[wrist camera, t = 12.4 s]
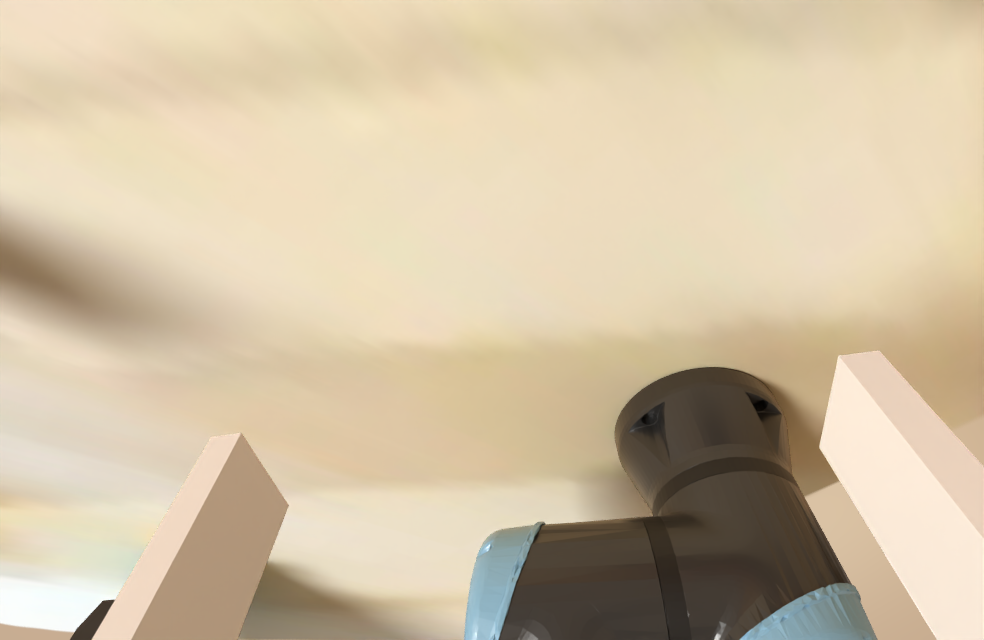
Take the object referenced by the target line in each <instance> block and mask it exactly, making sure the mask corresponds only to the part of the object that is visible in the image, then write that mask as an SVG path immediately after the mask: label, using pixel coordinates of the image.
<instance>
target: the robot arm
mask: <svg viewBox="0 0 984 640" xmlns="http://www.w3.org/2000/svg"><path fill="white" fill-rule="evenodd" d="M615 441H616V446H617V451H618V455H619V459H620V462H621V464H622V467H623V468H624V470H625V472H626V473H627V475H628V476H629V478H630V479H631V481H632V482H633V484H634V485H635V487H636V488H637V490H638V491H639V493H640V494H641V496H642V497H643V499H644V500H645V501H646V503H647V504H648V506H649V507H650V509H651V510H652V513H653V517H643V518H641V517H638V518H626V519H613V520H601V521H589V522H577V523H562V524H545V523H544V522H537V523H536V524H535V525H530V526H523V527H515V528H507V529H501V530H498V531H496V532H494V533H492V534H491V535H490V536H488V538H487V539H486V540H485V541H484V543H483V544H482V546H481V548H480V550H479V553H478V556H477V559H476V562H475V565H474V569H473V574H472V578H471V583H470V590H469V596H468V603H467V611H466V622H465V635H464V640H877V638H876V635H875V633H874V631H873V629H872V626H871V624H870V622H869V620H868V618H867V616H866V613H865V611H864V609H863V607H862V604H861V603H860V600H861V598H860V595H859V593H858V591H857V590H856V587H855V586H854V585H852V584H851V582H850V580H849V579H848V577H847V575H846V573H845V571H844V570H843V568H842V566H841V564H840V562H839V560H838V558H837V557H836V555H835V553H834V551H833V549H832V548H831V546H830V544H829V542H828V540H827V538H826V536H825V534H824V533H823V531H822V529H821V527H820V525H819V524H818V522H817V520H816V518H815V516H814V514H813V512H812V511H811V509H810V507H809V505H808V503H807V501H806V500H805V498H804V496H803V494H802V492H801V490H800V489H799V487H798V485H797V483H796V481H795V479H794V477H793V475H792V468H791V459H790V450H789V440H788V431H787V423H786V420H785V417H784V414H783V412H782V410H781V408H780V406H779V404H778V403H777V401H776V399H775V398H774V396H773V394H772V393H771V391H770V390H769V389H768V388H767V387H766V386H765V385H764V384H763V383H762V382H760V381H759V380H758V379H756V378H754V377H752V376H750V375H748V374H746V373H743V372H739V371H736V370H731V369H724V368H698V369H691V370H686V371H682V372H678V373H675V374H672V375H669V376H666V377H664V378H662V379H659V380H657V381H655V382H653V383H652V384H650V385H648V386H647V387H645V388H644V389H642V390H641V391H640V392H638V393H637V394H636V395H635V396H634V397H633V398H632V399H631V400H630V401H629V402H628V403H627V404H626V406H625V407H624V408H623V410H622V412H621V413H620V415H619V417H618V420H617V423H616V427H615ZM819 448H820V450H821V451H822V453H823V454H824V456H825V458H826V459H827V461H828V463H829V464H830V466H831V468H832V469H833V471H834V472H835V474H836V476H837V477H838V479H839V481H840V482H841V484H842V486H843V487H844V489H845V490H846V492H847V494H848V495H849V497H850V498H851V500H852V502H853V503H854V505H855V507H856V508H857V510H858V512H859V513H860V515H861V516H862V518H863V520H864V521H865V523H866V525H867V526H868V528H869V530H870V531H871V533H872V534H873V536H874V538H875V539H876V541H877V543H878V544H879V546H880V548H881V549H882V551H883V552H884V554H885V556H886V557H887V559H888V561H889V562H890V564H891V565H892V567H893V569H894V570H895V572H896V574H897V575H898V577H899V578H900V580H901V582H902V583H903V585H904V587H905V588H906V590H907V592H908V593H909V595H910V597H911V598H912V600H913V601H914V603H915V605H916V606H917V608H918V610H919V611H920V613H921V615H922V616H923V618H924V619H925V621H926V622H927V624H928V626H929V628H930V629H931V631H932V633H933V634H934V636H935V637H936V639H937V640H984V466H983V465H982V464H981V463H980V462H979V461H978V460H977V459H976V458H975V456H974V455H973V454H972V453H971V452H970V451H969V450H968V449H967V448H966V446H965V445H964V444H963V443H962V442H961V441H960V440H959V439H958V438H957V436H956V435H955V434H954V433H953V432H952V431H951V430H950V429H949V428H948V426H947V425H946V424H945V423H944V422H943V421H942V420H941V419H940V418H939V416H938V415H937V414H936V413H935V412H934V411H933V410H932V409H931V408H930V406H929V405H928V404H927V403H926V402H925V401H924V400H923V399H922V398H921V396H920V395H919V394H918V393H917V392H916V391H915V390H914V389H913V388H912V386H911V385H910V384H909V383H908V382H907V381H906V380H905V379H904V378H903V376H902V375H901V374H900V373H899V372H898V371H897V370H896V369H895V368H894V366H893V365H892V364H891V363H890V362H889V361H888V360H887V359H886V358H885V356H884V355H883V354H882V353H881V352H880V351H879V350H878V351H870V352H862V353H855V354H847V355H839V356H838V361H837V365H836V370H835V375H834V380H833V384H832V389H831V394H830V398H829V403H828V408H827V413H826V417H825V422H824V427H823V431H822V436H821V441H820V446H819ZM288 506H289V505H288V504H287V502H286V501H285V499H284V498H283V496H282V494H281V493H280V491H279V490H278V488H277V487H276V485H275V484H274V482H273V481H272V479H271V478H270V476H269V474H268V473H267V471H266V470H265V468H264V467H263V465H262V464H261V462H260V461H259V459H258V458H257V456H256V454H255V453H254V451H253V450H252V448H251V447H250V445H249V444H248V442H247V441H246V439H245V438H244V436H243V435H242V433H235V434H228V435H220V436H212V437H211V438H210V440H209V441H208V443H207V445H206V446H205V448H204V450H203V452H202V453H201V455H200V457H199V458H198V460H197V462H196V463H195V465H194V467H193V469H192V470H191V472H190V474H189V475H188V477H187V479H186V480H185V482H184V484H183V486H182V487H181V489H180V491H179V492H178V494H177V496H176V497H175V499H174V501H173V502H172V504H171V506H170V508H169V509H168V511H167V513H166V514H165V516H164V518H163V519H162V521H161V523H160V525H159V526H158V528H157V530H156V531H155V533H154V535H153V536H152V538H151V540H150V542H149V543H148V545H147V547H146V548H145V550H144V552H143V553H142V555H141V557H140V559H139V560H138V562H137V564H136V565H135V567H134V569H133V570H132V572H131V574H130V575H129V577H128V579H127V581H126V582H125V584H124V586H123V587H122V589H121V591H120V592H119V594H118V596H117V598H116V599H115V600H106V601H102V602H101V604H100V605H99V606H98V607H97V608H96V609H95V610H94V611H93V612H92V613H91V614H90V615H89V616H88V617H87V619H86V620H85V621H84V622H83V623H82V624H81V625H80V626H79V627H78V628H77V629H76V631H75V633H74V634H73V636H72V637H71V639H70V640H237V639H238V637H239V634H240V632H241V629H242V626H243V624H244V621H245V619H246V616H247V613H248V611H249V608H250V605H251V603H252V600H253V598H254V595H255V592H256V590H257V587H258V584H259V582H260V579H261V577H262V574H263V571H264V569H265V566H266V564H267V561H268V558H269V556H270V553H271V550H272V548H273V545H274V543H275V540H276V537H277V535H278V532H279V529H280V527H281V524H282V522H283V519H284V516H285V514H286V511H287V509H288Z"/></svg>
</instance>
